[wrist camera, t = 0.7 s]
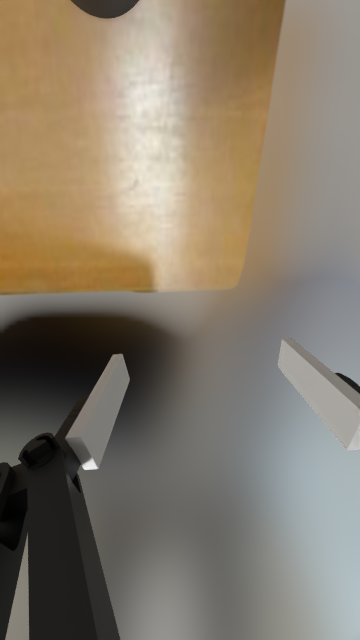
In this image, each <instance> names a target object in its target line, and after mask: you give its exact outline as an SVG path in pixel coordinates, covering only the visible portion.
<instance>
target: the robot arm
mask: <svg viewBox="0 0 360 640" xmlns="http://www.w3.org/2000/svg"><path fill="white" fill-rule="evenodd" d="M71 1H72V2H73V3H74V4H75V5H77V6H78V7H79V8H80V9H82V10H83V11H85V12H87V13H88V14H90V15H93V16H96V17H99V18H115V17H118V16H120V15H123V14H124V13H126V12H128V11H129V10H130V9H131V8H132V7H134V5H135V4H136V3H137V2H138V1H139V0H71ZM278 367H279V368H280V369H281V371H282V372H283V373H284V375H286V377H287V378H288V379H289V380H290V381H291V383H292V384H293V385H294V387H295V388H296V389H297V390H298V391H299V393H300V394H301V395H302V396H303V397H304V399H305V400H306V401H307V402H308V404H309V405H310V406H311V407H312V408H313V410H314V411H315V412H316V413H317V415H318V416H319V417H320V418H321V419H322V421H323V422H324V423H325V424H326V426H327V427H328V428H329V429H330V431H331V432H332V433H333V434H334V435H335V437H336V438H337V439H338V440H339V441H340V443H341V444H342V445H343V446H344V448H345V449H346V450H355V449H360V386H358V384H356V383H355V382H354V381H353V380H351V379H350V378H348V377H346V376H344V375H342V374H340V373H334V372H332V371H331V370H330V369H329V368H328V367H326V366H325V365H324V364H323V363H321V362H320V361H319V360H318V359H316V358H315V357H314V356H313V355H312V354H310V353H309V352H308V351H307V350H305V349H304V348H303V347H302V346H301V345H299V344H298V343H297V342H296V341H295V340H293V339H292V338H288V339H282V343H281V349H280V355H279V361H278ZM128 383H129V375H128V372H127V369H126V365H125V362H124V358H123V355H122V354H118V355H113V356H112V358H111V360H110V361H109V363H108V365H107V367H106V368H105V370H104V372H103V374H102V375H101V377H100V379H99V380H98V382H97V384H96V386H95V388H94V389H93V391H92V393H91V394H90V395H86V396H83V397H82V398H81V399H80V400H79V401H77V403H76V404H75V406H74V407H73V409H72V411H71V412H70V414H69V415H68V418H66V420H65V421H64V423H63V425H62V426H61V428H60V429H59V431H58V432H57V434H56V435H55V437H54V436H53V434H51V433H43V434H41V435H38V436H37V437H35V438H34V439H32V440H31V441H29V443H27V444H26V445H25V447H24V448H23V449H22V451H21V452H20V455H19V458H18V459H19V460H20V461H21V464H19V465H16V466H13V467H11V466H10V465H9V464H8V463H4V462H3V463H0V640H5V637H6V633H7V628H8V623H9V618H10V614H11V608H12V604H13V600H14V595H15V590H16V585H17V580H18V576H19V571H20V566H21V562H22V556H23V552H24V547H25V542H26V538H27V533H28V564H29V566H28V567H29V568H28V573H29V640H120V637H119V633H118V629H117V625H116V621H115V617H114V613H113V609H112V605H111V601H110V597H109V593H108V589H107V585H106V582H105V577H104V573H103V570H102V566H101V562H100V557H99V553H98V550H97V546H96V542H95V538H94V534H93V530H92V526H91V522H90V518H89V514H88V511H87V506H86V502H85V498H84V494H83V490H82V486H81V482H80V478H79V475H78V474H77V471H78V469H79V467H80V465H82V467H83V468H84V470H90V469H98V468H99V465H100V462H101V460H102V457H103V454H104V451H105V448H106V445H107V442H108V440H109V437H110V434H111V431H112V428H113V425H114V422H115V420H116V417H117V414H118V411H119V408H120V406H121V403H122V400H123V397H124V394H125V391H126V389H127V386H128Z"/></svg>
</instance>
